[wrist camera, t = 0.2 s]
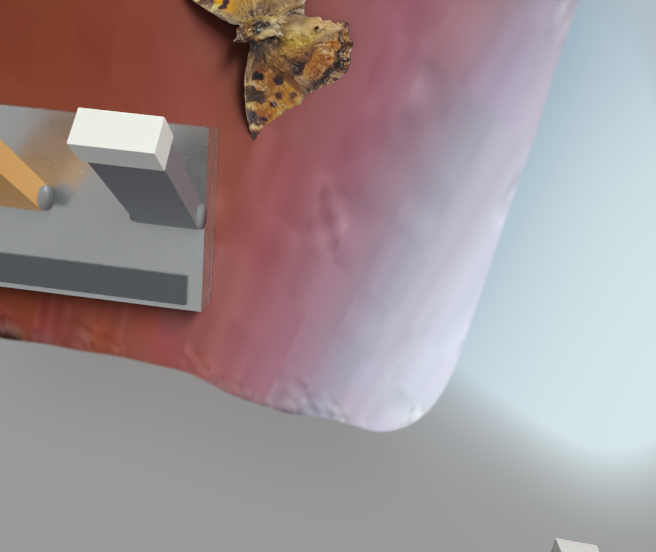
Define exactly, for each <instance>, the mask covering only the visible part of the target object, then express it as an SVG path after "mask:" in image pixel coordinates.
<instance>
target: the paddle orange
mask: <svg viewBox="0 0 656 552" xmlns="http://www.w3.org/2000/svg"><path fill="white" fill-rule="evenodd" d="M54 201H55V194H54V190H53V188H52V187H51V186H49V185H46V184H45V183H44V182H43V181H42V180H41V179H40V178H39V177H38V176H37V175H36V174H35V173H34V172H33V171H32V170H31V169H30V168H29V167H28V166H27V165H26V164H25V163H24V162H23V161H22V160H21V159H20V158H19V157H18V156H17V155H16V154H15V153H14V152H13V151H12V150H11V149H10V148H9V147H8V146H7V145H6V144H5V143H4V142H3V141H2V140H1V139H0V206H4V207H12V208H20V209H29V210H37V211H43V210H44V211H49V210H50V209H51V208H52V207H53V205H54Z"/></svg>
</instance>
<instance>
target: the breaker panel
mask: <svg viewBox="0 0 656 552" xmlns="http://www.w3.org/2000/svg"><path fill="white" fill-rule="evenodd" d="M76 113H77V112H76V111H67V110H58V109H49V108H40V107H31V106H22V105H13V104H4V103H0V139H1V140H2V141H3V142H4V143H5V144H6V145H7V146H8V147H9V148H10V149H11V150H12V151H13V152H14V153H15V154H16V155H17V156H18V157H19V158H20V159H21V160H22V161H23V162H24V163H25V164H26V165H27V166H28V167H29V168H30V169H31V170H32V171H33V172H34V173H35V174H36V175H37V176H38V177H39V178H40V179H41V180H42V181H43V182H44V183H45V184H46V185H49V186H51V187H52V188H53V190H54V194H55V201H54V205H53V207H52V208H51V209H50V210H49V211H44V210H43V211H37V210H29V209H20V208H12V207H4V206H0V286H2V287H10V288H17V289H25V290H33V291H41V292H49V293H57V294H64V295H72V296H80V297H88V298H96V299H104V300H111V301H119V302H127V303H135V304H143V305H151V306H158V307H166V308H174V309H182V310H190V311H198V312H201V311H202V310H203V309H204V308H205V307H206V306H207V305H208V304H209V302H210V301H211V300H212V279H213V258H214V236H215V215H216V194H217V173H218V152H219V131H220V127H212V126H203V125H194V124H185V123H176V122H167V121H166V122H167V124H168V126H169V128H170V130H171V132H172V134H173V140H172V143H173V145H174V147H175V149H176V151H177V153H178V155H179V157H180V159H181V161H182V163H183V165H184V167H185V169H186V171H187V173H188V175H189V177H190V179H191V181H192V183H193V185H194V188H195V190H196V192H197V194H198V196H199V198H200V200H201V202H202V203H203V204H206V206H207V221H206V225H205V227H204V229H199V230H195V229H187V228H178V227H170V226H162V225H153V224H145V223H137V222H135V221H132V220H131V219H130V216H129V213H128V212H127V211H126V209H125V208H124V207H123V206H122V204H121V203H120V202H119V201H118V199H117V198H116V197H115V196H114V194H113V193H112V192H111V191H110V189H109V188H108V187H107V186H106V185H105V183H104V182H103V181H102V180H101V178H100V177H99V176H98V175H97V173H96V172H95V171H94V170H93V168H92V167H91V166H90V165H89V163H88V162H81V161H80V159H79V158H78V157H77V156H76V155H75V153H74V152H73V151H72V150H71V149H70V147H69V146H68V145H67V141H68V137H69V134H70V131H71V128H72V125H73V122H74V119H75V116H76Z"/></svg>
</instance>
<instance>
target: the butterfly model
mask: <svg viewBox="0 0 656 552" xmlns="http://www.w3.org/2000/svg"><path fill="white" fill-rule="evenodd" d="M193 1H194V2H195V3H197V4H198V5H200V6H201V7H203V8H205V9H206V10H208V11H210V12H211V13H213V14H214V15H216V16H217V17H219V18H220V19H222V20H225V21H227V22H228V23H230V24H234V25H240V27H239V28H237V30H236V32H237V37H236V38H235V39H234V40H233V41H234V42H238V43H244V42H248V43H249V45H250V51H249V53H248V58H247V65H246V69H245V76H244V86H245V94H246V95H245V103H246V105H245V109H246V115H247V120H248V123H249V130H250V132H251V135H252V138H253V140H255V139H256V137H257V134H259V133H260V130H259V129H260V128H262V127H264V125H266V124H267V125H268V124H269V123H270V122H272V121H273V120H274V119H275V118H276V117H278V116H279V115H281V114H282V113H284V111H285V110H288V109H291V108H292V107H293V106H294V105H301V104H302V101H303V99H304V98H305V97H307V95H308V94H310V93H313V92H314V91H315V90H317V89H319V88H320V87H321V86H327V85H329V84H331V83H334V82H335V81H336V80H338V79H339V78H340V77H341V76H342V75H343V74H344V73H346V72H347V70H348V68H349V63H350V61H351V59H350V57H349V54H350V52H351V50H352V48H353V42H352V41H351V39H350V38H349V35H348V29H349V25H348V23H347V22H345V21H341V22H338V23H337V24H336V23H333V22H331V20H325V21H322V19H321V18H320V17H312V18H310V17H306V16H305V14H304V10H305V7H304V3H305V0H193ZM204 1H205V2H204ZM334 38H335V40H334ZM321 51H322V52H321ZM260 70H261V71H260ZM318 70H320V71H318ZM246 78H247V79H246ZM283 87H284V88H283ZM277 89H278V90H277ZM247 92H248V93H247ZM272 95H273V96H272ZM294 96H295V97H294Z"/></svg>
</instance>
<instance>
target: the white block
mask: <svg viewBox="0 0 656 552" xmlns="http://www.w3.org/2000/svg"><path fill="white" fill-rule="evenodd" d="M172 140H173V134H172V132H171V130H170V128H169V126H168V124H167V122H166V119H165V117H159V116H150V115H141V114H132V113H123V112H114V111H105V110H96V109H87V108H78V110H77V113H76V116H75V119H74V122H73V125H72V128H71V131H70V134H69V137H68V141H67V145H68V146H69V147H70V149H71V150H72V151H73V152H74V153H75V155H76V156H77V157H78V158H79V159H80V161H81V162H88V163H89V165H90V166H91V167H92V168H93V170H94V171H95V172H96V173H97V175H98V176H99V177H100V178H101V180H102V181H103V182H104V183H105V185H106V186H107V187H108V188H109V189H110V191H111V192H112V193H113V194H114V196H115V197H116V198H117V199H118V201H119V202H120V203H121V204H122V206H123V207H124V208H125V209H126V211H127V212H128V213H129V216H130V219H131V220H132V221H135V222H137V223H145V224H153V225H162V226H170V227H178V228H187V229H195V230H199V229H204V227H205V225H206V221H207V206H206V204H203V203H202V202H201V200H200V198H199V196H198V194H197V192H196V190H195V188H194V185H193V183H192V181H191V179H190V177H189V175H188V173H187V171H186V169H185V167H184V165H183V163H182V161H181V159H180V157H179V155H178V153H177V151H176V149H175V147H174V145H173V143H172Z"/></svg>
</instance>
